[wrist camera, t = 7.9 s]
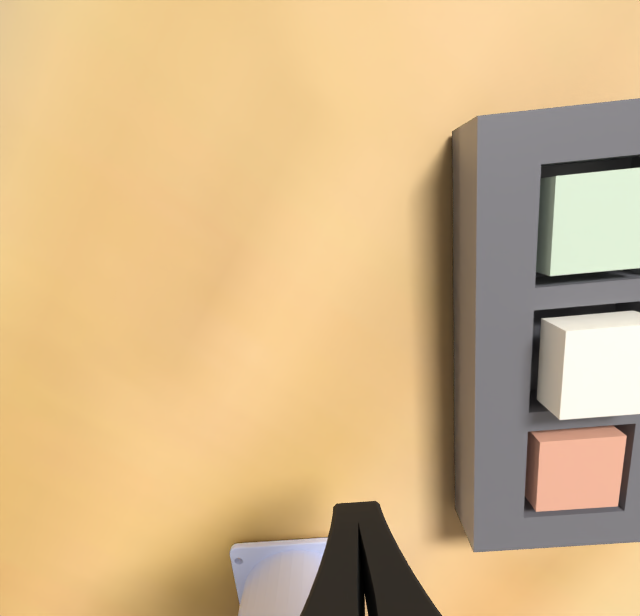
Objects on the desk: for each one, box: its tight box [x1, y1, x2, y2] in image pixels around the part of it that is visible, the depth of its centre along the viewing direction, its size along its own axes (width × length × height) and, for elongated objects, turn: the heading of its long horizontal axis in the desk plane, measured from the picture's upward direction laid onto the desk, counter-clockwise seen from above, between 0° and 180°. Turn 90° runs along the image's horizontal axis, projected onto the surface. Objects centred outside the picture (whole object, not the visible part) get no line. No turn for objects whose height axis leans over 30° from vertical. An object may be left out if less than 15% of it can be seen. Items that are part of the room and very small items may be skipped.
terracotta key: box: [525, 425, 627, 512], centre depth 19 cm, size 4×4×2 cm
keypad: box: [452, 98, 640, 552], centre depth 18 cm, size 21×10×3 cm, turn 6°
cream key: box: [537, 310, 640, 420], centre depth 16 cm, size 4×4×2 cm
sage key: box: [536, 168, 640, 276], centre depth 16 cm, size 4×4×2 cm
